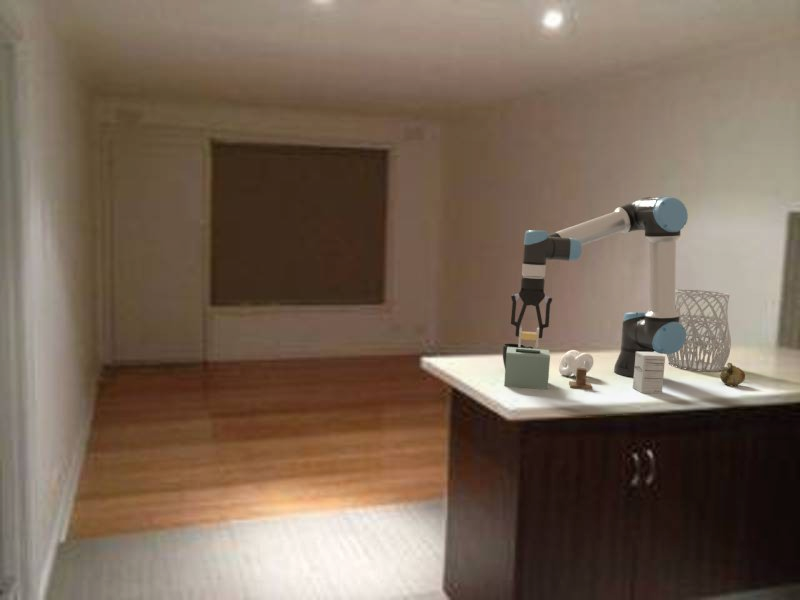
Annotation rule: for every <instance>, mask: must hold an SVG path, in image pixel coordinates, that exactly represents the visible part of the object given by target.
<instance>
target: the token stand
mask: <svg viewBox="0 0 800 600" xmlns="http://www.w3.org/2000/svg"><path fill="white" fill-rule="evenodd" d="M586 372H587V370H586V368H577V371H576V376H575V381H574V380H569V381H568V384H569V387H570V388H571V389H579V390H580V389H581V390H593V386H592V383H591V382H587V373H588V372H587V373H586Z"/></svg>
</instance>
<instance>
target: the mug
mask: <svg viewBox="0 0 800 600" xmlns="http://www.w3.org/2000/svg"><path fill="white" fill-rule="evenodd" d="M507 347H516V348H529V349H534V347H533V346H530V345H529V346H528V345H527V346H526V345H525V344H521V347H518V343H503V345H502V361H503V366H504V368H505V367H506V352H507Z"/></svg>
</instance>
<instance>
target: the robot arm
mask: <svg viewBox="0 0 800 600" xmlns="http://www.w3.org/2000/svg"><path fill="white" fill-rule="evenodd" d="M688 216H689V214H688V209H687V207H686V205H685V204H684V203H683V202H682V201H681V200H680V199H679V198H676V197H671V196H655V197H650V196H649V197H642V198H639V199H637V200H633V201H632V202H628V203H626V204H624V205H621V206H619V207H616V208H615V209H614V211H613V212H610V213H607V214H604V215H601V216H598V217H596V218H593V219H589V220H587V221H584V222H580V223H578V224H576V225H573V226H570V227H567V228H566V227H565V228H563V229H561V230H557V231H556V232H552V233H549V232H548V231H546V230H534V229H533V230H532V229H529V230H526V231H525V233H524V240H523V254H522V257H523V258H522V267H521V276H523V277H521V279H520V281H521V282H520V291H519V293H515V294H511V296H510V297H511V301H512V306H511V318H510V324H511V325H512V326H515V337H518V343H517V344H518V347H521V345H522V339H521V333H522V331H523V326H521V323H522V321H523V319H524V315H525V313H526V309H527V306H533V307H535V311H536V317H537V322H538V327H536V332H537V339H536V340H535V349H539V339H542V338H543V334H544V329H545V328H548V327H549V325H550V314H551V313H550V310H551V304H552V301H553V298H552V296H547V295H546V294H545V292H544V291H545V279H544V278H545V276H546V267H547V266H546V265H547V260H548V261H550V260H551V261H565V262H566V261H567V262H571V261H572V262H575V261H578V260H579V259H580V257H581V254H582V249H583V247H582V246H585V245H588V244H590V243H594V242H595V241H599V240H602V239H604V238H607V237H610V236H613V235H616V234H618V233H623V234H628V233H630V232H635V231H644V238H645V239H646V240H647V241H649V247H648V249H649V251H648V253H649V257H648V258H649V259H648V261H649V262H648V264H649V267H648V272H649V274H648V276H649V278H648V279H649V281H648V283H649V284H648V285H649V286H648V310H647V311H646V312H639V311H638V312H636V311H634V312H630V311H629V312H625V313H624V315H623V318H622V322H621V323H622V331H621V340H620V353H619V354H618V357H617V359H616V362H615V364H614V369H613V372H614V373H616V374H617V375H621V376H625V377H631V378H634V367H635V356H636V352H656V353H658V354H661V355H667V354H673V353H675V354H676V352H677V351H679V349H680V348H681V347H682V346H683V347H684V343H685V340H686V339H687V336H686V333H687V331H686V328H684V327H685V326H684V325H682V324H683V323H682V324H680V315H681V314H680V315H679V312H678V313H677V312H676V310H675V303H676V251H677V250H676V247H677V245H676V243H677V242H676V241H677V240H678V239H679V238H680V237H681V230H683V229H684V227H685V225H686V224H687V222H688V218H689V217H688ZM519 298H520V300H521V301H522V303H523V304H522V306H521V310H520V312H519V315H518V318H517V321H516V311H517V301H518V300H519ZM543 300H544V302H545V317H544V323H543V319H542V314H541V313H542V312H541V310H540V309H541V308H540V303H541V302H542V301H543ZM679 352H680V351H679Z"/></svg>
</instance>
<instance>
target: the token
mask: <svg viewBox="0 0 800 600" xmlns="http://www.w3.org/2000/svg"><path fill="white" fill-rule="evenodd" d="M536 339H537V331H523V330H522V333H521V340H524V341H525V340H526V341H536Z"/></svg>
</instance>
